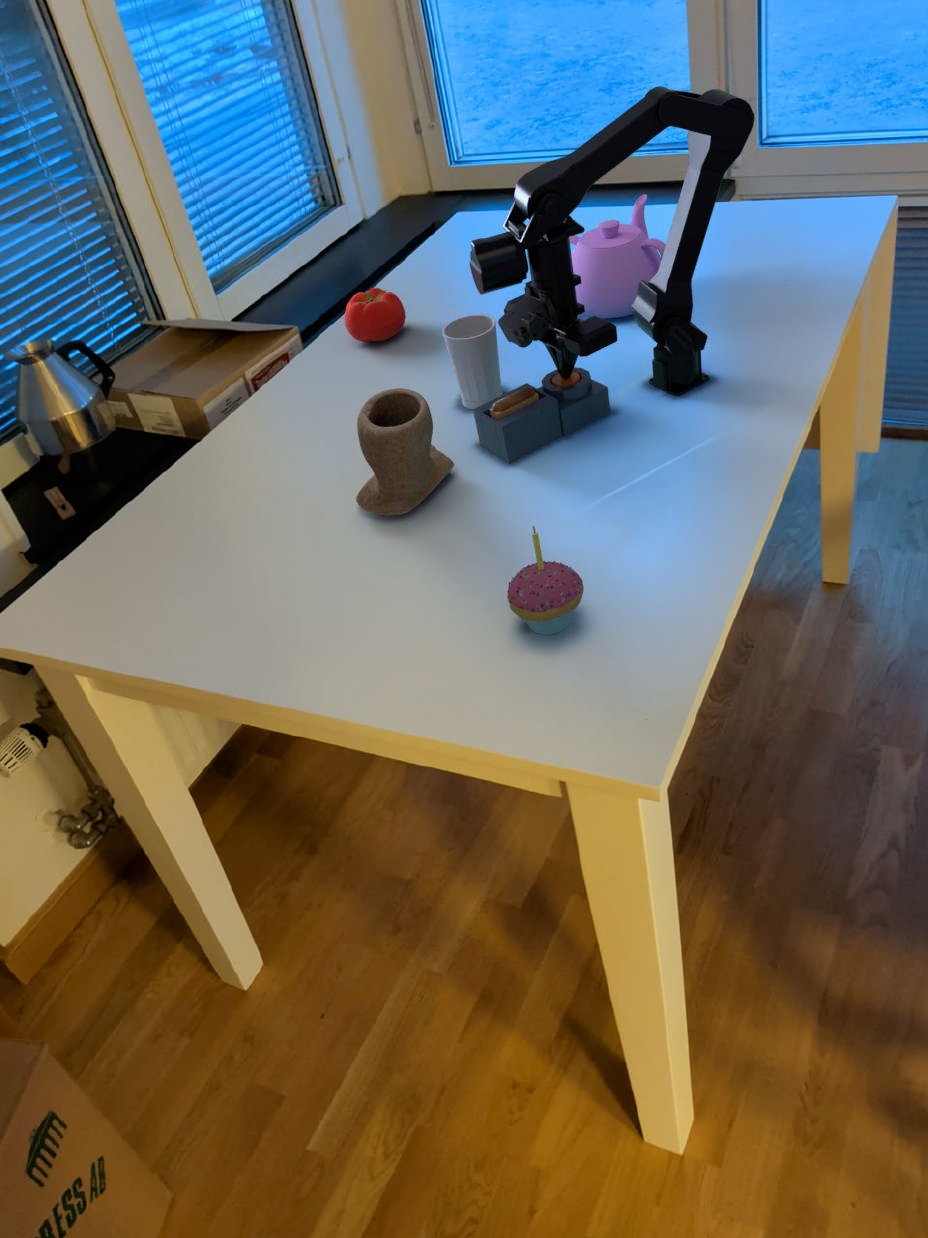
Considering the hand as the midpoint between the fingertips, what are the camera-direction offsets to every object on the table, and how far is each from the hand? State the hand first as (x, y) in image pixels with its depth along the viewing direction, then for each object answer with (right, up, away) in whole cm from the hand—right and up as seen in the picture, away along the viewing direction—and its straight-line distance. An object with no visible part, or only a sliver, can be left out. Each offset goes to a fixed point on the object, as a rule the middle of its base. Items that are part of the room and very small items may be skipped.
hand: (566, 377), depth 150 cm
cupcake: (-5, -35, -30) cm, 46 cm away
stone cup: (-21, -17, -4) cm, 28 cm away
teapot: (+13, +21, +31) cm, 40 cm away
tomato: (-29, +16, +38) cm, 51 cm away
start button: (0, -1, +1) cm, 2 cm away
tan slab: (-7, -8, 0) cm, 10 cm away
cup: (-12, 0, +13) cm, 17 cm away
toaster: (-6, -9, +1) cm, 11 cm away
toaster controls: (+1, -5, +4) cm, 6 cm away
